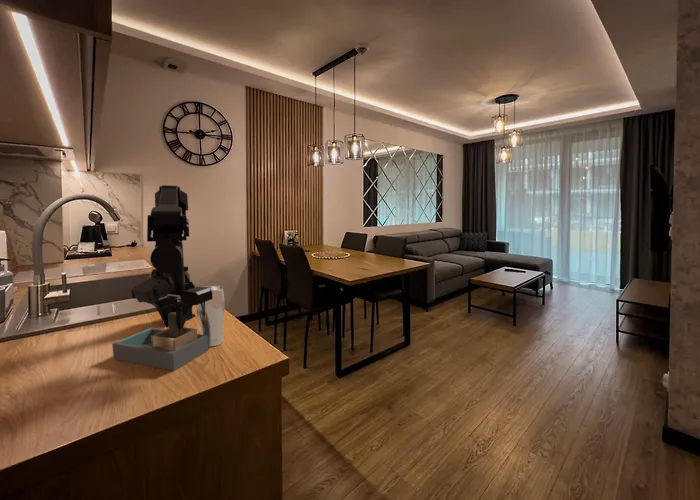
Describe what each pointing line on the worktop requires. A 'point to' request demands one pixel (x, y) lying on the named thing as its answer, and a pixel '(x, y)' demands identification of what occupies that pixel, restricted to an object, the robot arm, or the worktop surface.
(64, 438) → the worktop surface
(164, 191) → the robot arm
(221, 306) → the beer glass
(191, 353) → the bay
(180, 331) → the crate
